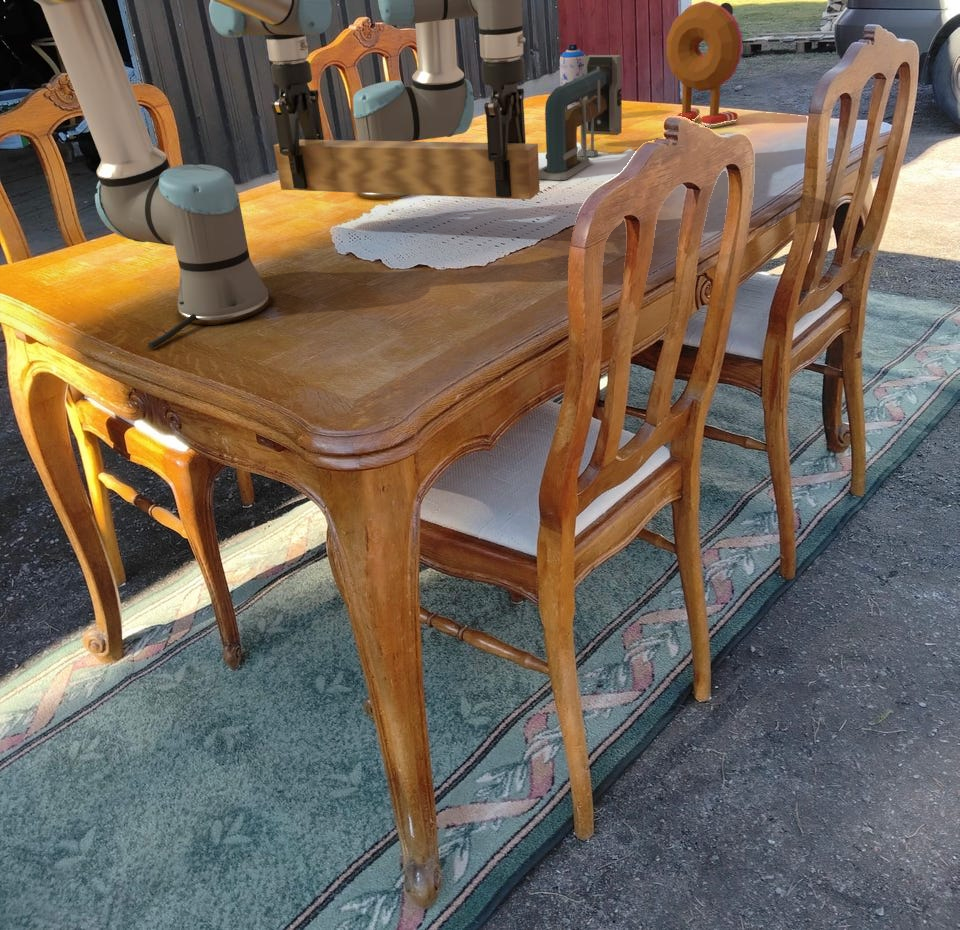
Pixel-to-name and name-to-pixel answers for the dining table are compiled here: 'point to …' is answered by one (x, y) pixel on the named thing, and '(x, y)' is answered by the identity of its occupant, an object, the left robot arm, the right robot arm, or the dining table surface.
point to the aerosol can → (572, 66)
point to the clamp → (582, 115)
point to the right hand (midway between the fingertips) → (509, 191)
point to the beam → (410, 168)
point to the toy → (705, 56)
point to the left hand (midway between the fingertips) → (308, 184)
